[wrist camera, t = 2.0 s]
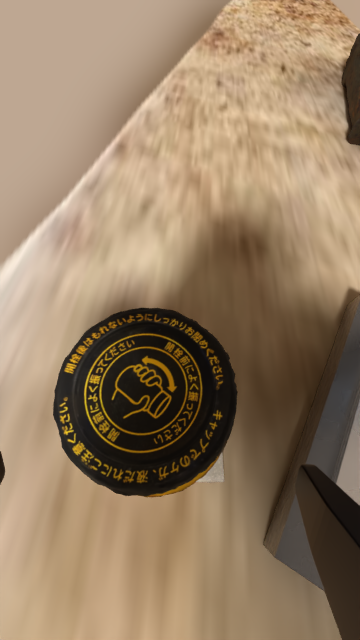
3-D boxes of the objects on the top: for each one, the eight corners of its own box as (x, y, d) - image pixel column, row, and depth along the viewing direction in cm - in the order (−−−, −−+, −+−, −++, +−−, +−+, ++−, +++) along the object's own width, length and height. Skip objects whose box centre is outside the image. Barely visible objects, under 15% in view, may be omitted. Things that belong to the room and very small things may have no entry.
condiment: (105, 482, 17) (-22, 539, 6) (118, 351, 20) (55, 239, 10) (223, 481, 17) (310, 537, 6) (215, 351, 21) (260, 241, 10)
